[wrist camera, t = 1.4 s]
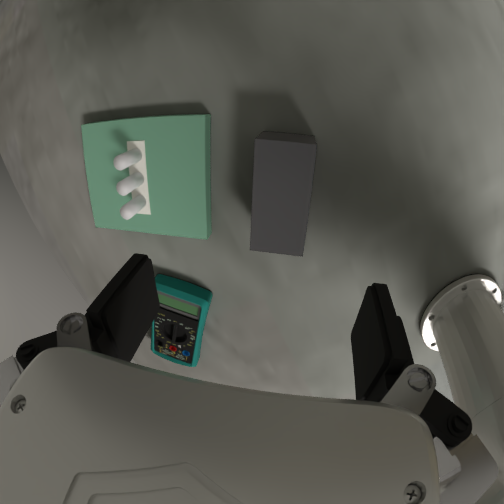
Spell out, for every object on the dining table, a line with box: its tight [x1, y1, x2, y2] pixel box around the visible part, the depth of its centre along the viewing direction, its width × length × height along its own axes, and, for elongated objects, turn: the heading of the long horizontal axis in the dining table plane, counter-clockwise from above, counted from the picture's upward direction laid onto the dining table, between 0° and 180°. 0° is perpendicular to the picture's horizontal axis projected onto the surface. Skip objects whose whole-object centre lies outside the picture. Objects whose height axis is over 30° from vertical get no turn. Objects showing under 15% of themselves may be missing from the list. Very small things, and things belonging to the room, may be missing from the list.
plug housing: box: [250, 131, 317, 257], centre depth 24 cm, size 4×9×5 cm, turn 178°
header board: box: [81, 114, 212, 240], centre depth 25 cm, size 14×12×4 cm
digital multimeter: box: [151, 274, 212, 367], centre depth 37 cm, size 7×15×3 cm, turn 166°
